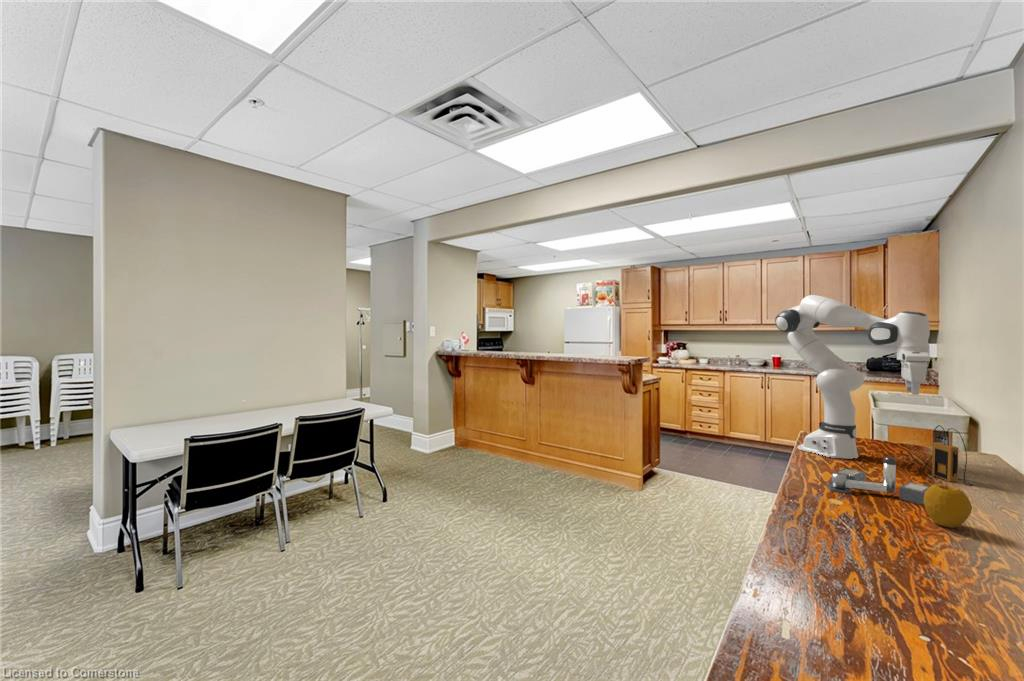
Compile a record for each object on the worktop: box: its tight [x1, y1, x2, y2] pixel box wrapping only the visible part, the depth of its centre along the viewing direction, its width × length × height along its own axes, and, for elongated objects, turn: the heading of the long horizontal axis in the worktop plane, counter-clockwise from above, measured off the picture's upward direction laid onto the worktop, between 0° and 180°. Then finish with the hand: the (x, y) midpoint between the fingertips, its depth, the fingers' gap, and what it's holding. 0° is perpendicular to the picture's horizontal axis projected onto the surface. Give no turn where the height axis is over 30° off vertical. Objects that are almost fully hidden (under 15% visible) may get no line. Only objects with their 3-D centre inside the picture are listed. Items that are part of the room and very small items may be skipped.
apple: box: [923, 483, 973, 529], centre depth 124 cm, size 10×10×12 cm
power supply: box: [898, 481, 932, 506], centre depth 143 cm, size 6×10×4 cm, turn 123°
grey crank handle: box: [831, 456, 897, 494], centre depth 148 cm, size 18×4×12 cm, turn 68°
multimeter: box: [923, 424, 975, 487], centre depth 162 cm, size 15×10×20 cm
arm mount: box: [825, 482, 853, 495], centre depth 151 cm, size 6×6×1 cm
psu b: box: [834, 467, 867, 482], centre depth 157 cm, size 6×10×4 cm, turn 123°
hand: (912, 393), depth 158 cm, fingers open, 8 cm apart
